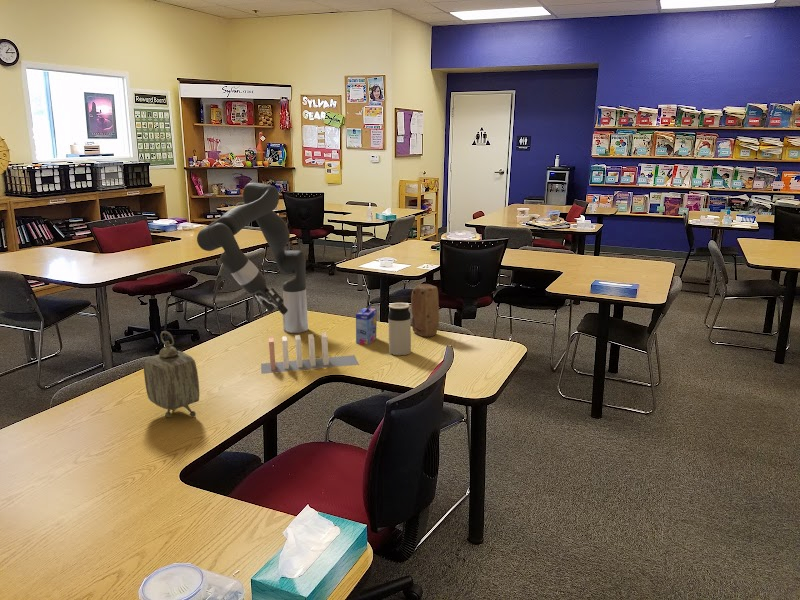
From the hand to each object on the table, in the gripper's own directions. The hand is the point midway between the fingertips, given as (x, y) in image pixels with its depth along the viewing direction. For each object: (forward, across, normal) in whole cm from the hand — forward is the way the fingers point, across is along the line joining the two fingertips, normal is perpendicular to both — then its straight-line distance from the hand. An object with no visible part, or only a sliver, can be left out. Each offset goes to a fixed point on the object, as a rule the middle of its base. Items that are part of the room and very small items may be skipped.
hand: (278, 311), depth 205 cm
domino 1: (+16, +7, +12) cm, 22 cm away
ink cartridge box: (+41, +8, -22) cm, 47 cm away
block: (+55, -1, -40) cm, 67 cm away
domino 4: (+24, +1, +3) cm, 24 cm away
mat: (+23, +1, +4) cm, 24 cm away
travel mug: (+43, -10, -21) cm, 49 cm away
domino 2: (+19, +5, +9) cm, 21 cm away
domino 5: (+26, -1, 0) cm, 26 cm away
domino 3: (+21, +3, +6) cm, 22 cm away
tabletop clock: (-5, -6, +46) cm, 47 cm away
